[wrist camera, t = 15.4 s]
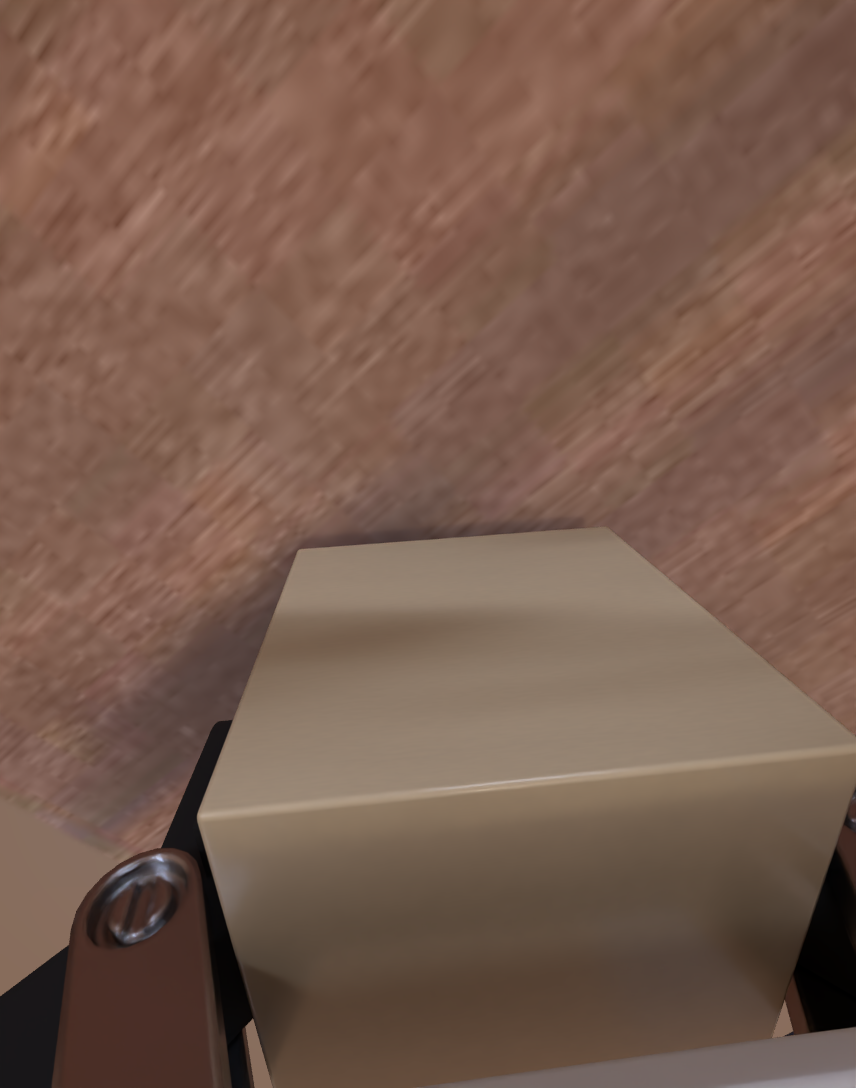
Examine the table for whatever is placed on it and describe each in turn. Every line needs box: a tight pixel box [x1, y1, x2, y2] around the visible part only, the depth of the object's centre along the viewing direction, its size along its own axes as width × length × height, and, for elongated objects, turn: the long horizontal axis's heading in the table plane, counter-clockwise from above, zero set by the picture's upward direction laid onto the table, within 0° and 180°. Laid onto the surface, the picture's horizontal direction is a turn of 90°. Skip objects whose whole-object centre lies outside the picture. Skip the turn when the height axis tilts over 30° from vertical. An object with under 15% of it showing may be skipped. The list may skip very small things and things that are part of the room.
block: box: [197, 527, 856, 1088], centre depth 8 cm, size 6×6×6 cm
